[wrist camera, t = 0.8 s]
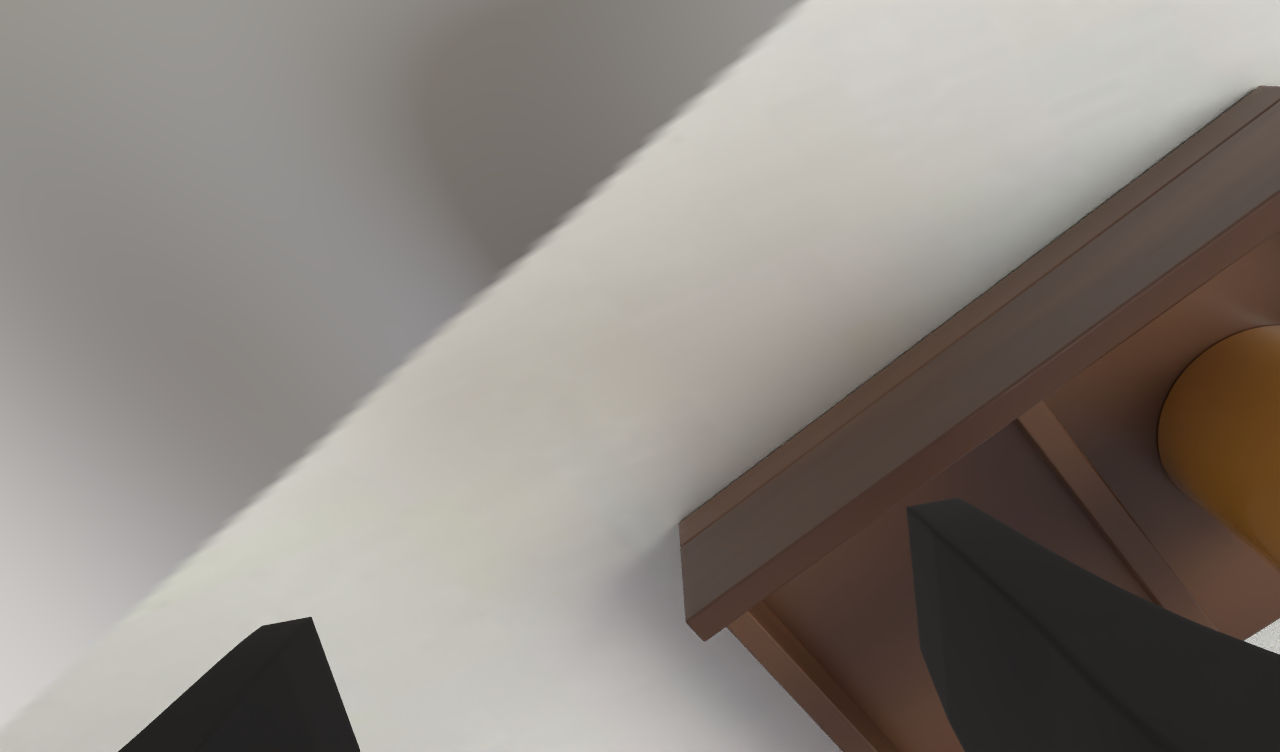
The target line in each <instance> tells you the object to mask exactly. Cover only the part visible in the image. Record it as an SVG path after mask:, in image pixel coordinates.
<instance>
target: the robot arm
mask: <svg viewBox="0 0 1280 752" xmlns="http://www.w3.org/2000/svg"><path fill="white" fill-rule="evenodd" d="M906 509H907V519H908V529H909V540H910V550H911V560H912V570H913V581H914V591H915V601H916V611H917V622H918V632H919V642H920V650H921V652H922V655H923V658H924V660H925V663H926V665H927V668H928V671H929V673H930V676H931V678H932V681H933V684H934V686H935V689H936V691H937V694H938V696H939V699H940V701H941V704H942V706H943V709H944V711H945V713H946V716H947V718H948V721H949V723H950V725H951V727H952V729H953V731H954V733H955V734H956V736H957V738H958V740H959V742H960V744H961V746H962V747H963V749H964V751H965V752H1280V654H1277V653H1274V652H1271V651H1268V650H1265V649H1263V648H1260V647H1257V646H1255V645H1252V644H1250V643H1247V642H1245V641H1242V640H1239V639H1237V638H1234V637H1232V636H1229V635H1227V634H1224V633H1221V632H1219V631H1216V630H1214V629H1211V628H1208V627H1206V626H1203V625H1201V624H1199V623H1196V622H1194V621H1192V620H1189V619H1187V618H1185V617H1182V616H1180V615H1178V614H1175V613H1173V612H1171V611H1169V610H1166V609H1164V608H1162V607H1160V606H1158V605H1156V604H1154V603H1152V602H1150V601H1147V600H1145V599H1143V598H1141V597H1139V596H1137V595H1135V594H1133V593H1131V592H1128V591H1126V590H1124V589H1122V588H1120V587H1118V586H1116V585H1114V584H1112V583H1110V582H1108V581H1106V580H1104V579H1102V578H1100V577H1099V576H1097V575H1095V574H1093V573H1091V572H1089V571H1087V570H1085V569H1083V568H1081V567H1080V566H1078V565H1076V564H1074V563H1072V562H1070V561H1069V560H1067V559H1065V558H1063V557H1061V556H1059V555H1058V554H1056V553H1054V552H1052V551H1051V550H1049V549H1047V548H1045V547H1043V546H1042V545H1040V544H1038V543H1036V542H1035V541H1033V540H1031V539H1030V538H1028V537H1026V536H1024V535H1023V534H1021V533H1019V532H1017V531H1016V530H1014V529H1012V528H1011V527H1009V526H1007V525H1006V524H1004V523H1002V522H1000V521H999V520H997V519H995V518H994V517H992V516H990V515H989V514H987V513H985V512H983V511H982V510H980V509H978V508H976V507H975V506H973V505H971V504H969V503H967V502H966V501H964V500H962V499H960V498H958V497H957V498H952V499H946V500H941V501H935V502H930V503H924V504H919V505H914V506H908V507H906ZM118 752H360V749H359V746H358V743H357V741H356V738H355V735H354V732H353V730H352V727H351V724H350V721H349V719H348V716H347V713H346V710H345V708H344V705H343V702H342V700H341V697H340V694H339V691H338V689H337V686H336V683H335V680H334V678H333V675H332V672H331V669H330V667H329V664H328V661H327V658H326V656H325V653H324V650H323V648H322V645H321V642H320V639H319V637H318V634H317V631H316V628H315V626H314V623H313V620H312V617H308V618H302V619H297V620H291V621H286V622H281V623H275V624H270V625H264V626H261V627H260V628H259V629H257V630H256V631H255V632H253V633H252V634H251V635H249V636H248V637H247V638H245V639H244V640H243V641H242V642H241V643H239V644H238V645H237V646H236V647H235V648H234V649H232V650H231V651H230V652H229V653H228V654H227V655H226V656H224V657H223V658H222V659H221V660H220V661H219V662H218V663H216V664H215V665H214V666H213V667H212V668H211V669H210V670H209V671H208V672H206V673H205V674H204V675H203V676H202V677H201V678H200V679H199V680H198V681H197V682H195V683H194V684H193V685H192V686H191V687H190V688H189V689H188V690H187V691H186V692H184V693H183V694H182V695H181V696H180V697H179V698H178V699H177V700H176V701H174V702H173V703H172V704H171V705H170V706H169V707H168V708H167V709H166V710H164V711H163V712H162V713H161V714H160V715H159V716H158V717H157V718H156V719H155V720H153V721H152V722H151V723H150V724H149V725H148V726H147V727H146V728H145V729H143V730H142V731H141V732H140V733H139V734H138V735H137V736H136V737H135V738H133V739H132V740H131V741H130V742H129V743H128V744H126V745H125V746H124V747H123V748H122V749H121V750H119V751H118Z"/></svg>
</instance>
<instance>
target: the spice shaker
mask: <svg viewBox="0 0 1280 752" xmlns="http://www.w3.org/2000/svg"><path fill="white" fill-rule="evenodd" d="M1158 449H1159V454H1160V458H1161V462H1162V465H1163V467H1164V469H1165V472H1166V474H1167V475H1168V477H1169V479H1170V480H1171V482H1172V483H1173V484H1174V485H1175V487H1176V488H1177V489H1178V490H1179V491H1180V492H1181V493H1182V494H1183V495H1185V496H1186V497H1187V498H1188V499H1189V500H1191V501H1192V502H1193V503H1194V504H1195V505H1197V506H1198V507H1199V508H1200V509H1202V510H1203V511H1204V512H1205V513H1206V514H1208V515H1209V516H1210V517H1211V518H1212V519H1214V520H1215V521H1216V522H1217V523H1219V524H1220V525H1221V526H1222V527H1223V528H1225V529H1226V530H1227V531H1228V532H1230V533H1231V534H1232V535H1233V536H1234V537H1236V538H1237V539H1238V540H1239V541H1240V542H1242V543H1243V544H1244V545H1245V546H1247V547H1248V548H1249V549H1250V550H1251V551H1253V552H1254V553H1255V554H1256V555H1257V556H1259V557H1260V558H1261V559H1262V560H1264V561H1265V562H1266V563H1267V564H1268V565H1270V566H1271V567H1272V568H1273V569H1274V570H1276V571H1277V572H1278V573H1279V574H1280V325H1274V326H1265V327H1259V328H1254V329H1250V330H1246V331H1243V332H1240V333H1237V334H1235V335H1232V336H1230V337H1228V338H1226V339H1224V340H1222V341H1220V342H1218V343H1217V344H1215V345H1213V346H1212V347H1210V348H1209V349H1207V350H1206V351H1205V352H1203V353H1202V354H1201V355H1199V356H1198V357H1197V358H1196V359H1195V360H1194V361H1193V362H1192V363H1191V364H1190V365H1189V366H1188V367H1187V368H1186V369H1185V370H1184V371H1183V373H1182V374H1181V375H1180V376H1179V378H1178V379H1177V380H1176V382H1175V384H1174V385H1173V387H1172V388H1171V390H1170V392H1169V394H1168V396H1167V398H1166V400H1165V402H1164V405H1163V408H1162V411H1161V415H1160V420H1159V425H1158Z"/></svg>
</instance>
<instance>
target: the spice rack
mask: <svg viewBox="0 0 1280 752" xmlns="http://www.w3.org/2000/svg"><path fill="white" fill-rule="evenodd" d="M1274 325H1280V87H1276V86H1259V87H1258V88H1256V89H1255V90H1254V91H1252V92H1251V93H1250V94H1248V95H1247V96H1246V97H1244V98H1243V99H1242V100H1241V101H1239V102H1238V103H1237V104H1235V105H1234V106H1233V107H1231V108H1230V109H1229V110H1227V111H1226V112H1225V113H1223V114H1222V115H1221V116H1219V117H1218V118H1217V119H1215V120H1214V121H1213V122H1211V123H1210V124H1209V125H1207V126H1206V127H1205V128H1203V129H1202V130H1201V131H1199V132H1198V133H1197V134H1195V135H1194V136H1193V137H1191V138H1190V139H1189V140H1187V141H1186V142H1185V143H1183V144H1182V145H1181V146H1179V147H1178V148H1177V149H1175V150H1174V151H1173V152H1171V153H1170V154H1169V155H1167V156H1166V157H1165V158H1163V159H1162V160H1161V161H1159V162H1158V163H1157V164H1155V165H1154V166H1153V167H1151V168H1150V169H1149V170H1147V171H1146V172H1145V173H1144V174H1142V175H1141V176H1140V177H1138V178H1137V179H1136V180H1134V181H1133V182H1132V183H1130V184H1129V185H1128V186H1126V187H1125V188H1124V189H1122V190H1121V191H1120V192H1118V193H1117V194H1116V195H1114V196H1113V197H1112V198H1110V199H1109V200H1108V201H1106V202H1105V203H1104V204H1102V205H1101V206H1100V207H1098V208H1097V209H1096V210H1094V211H1093V212H1092V213H1090V214H1089V215H1088V216H1086V217H1085V218H1084V219H1082V220H1081V221H1080V222H1078V223H1077V224H1076V225H1074V226H1073V227H1072V228H1070V229H1069V230H1068V231H1066V232H1065V233H1064V234H1062V235H1061V236H1060V237H1058V238H1057V239H1056V240H1054V241H1053V242H1052V243H1050V244H1049V245H1048V246H1047V247H1045V248H1044V249H1043V250H1041V251H1040V252H1039V253H1037V254H1036V255H1035V256H1033V257H1032V258H1031V259H1029V260H1028V261H1027V262H1025V263H1024V264H1023V265H1021V266H1020V267H1019V268H1017V269H1016V270H1015V271H1013V272H1012V273H1011V274H1009V275H1008V276H1007V277H1005V278H1004V279H1003V280H1001V281H1000V282H999V283H997V284H996V285H995V286H993V287H992V288H991V289H989V290H988V291H987V292H985V293H984V294H983V295H981V296H980V297H979V298H977V299H976V300H975V301H973V302H972V303H971V304H969V305H968V306H967V307H965V308H964V309H963V310H961V311H960V312H959V313H957V314H956V315H955V316H953V317H952V318H951V319H950V320H948V321H947V322H946V323H944V324H943V325H942V326H940V327H939V328H938V329H936V330H935V331H934V332H932V333H931V334H930V335H928V336H927V337H926V338H924V339H923V340H922V341H920V342H919V343H918V344H916V345H915V346H914V347H912V348H911V349H910V350H908V351H907V352H906V353H904V354H903V355H902V356H900V357H899V358H898V359H896V360H895V361H894V362H892V363H891V364H890V365H888V366H887V367H886V368H884V369H883V370H882V371H880V372H879V373H878V374H876V375H875V376H874V377H872V378H871V379H870V380H868V381H867V382H866V383H864V384H863V385H862V386H860V387H859V388H858V389H856V390H855V391H854V392H852V393H851V394H850V395H849V396H847V397H846V398H845V399H843V400H842V401H841V402H839V403H838V404H837V405H835V406H834V407H833V408H831V409H830V410H829V411H827V412H826V413H825V414H823V415H822V416H821V417H819V418H818V419H817V420H815V421H814V422H813V423H811V424H810V425H809V426H807V427H806V428H805V429H803V430H802V431H801V432H799V433H798V434H797V435H795V436H794V437H793V438H791V439H790V440H789V441H787V442H786V443H785V444H783V445H782V446H781V447H779V448H778V449H777V450H775V451H774V452H773V453H771V454H770V455H769V456H767V457H766V458H765V459H763V460H762V461H761V462H759V463H758V464H757V465H755V466H754V467H753V468H752V469H750V470H749V471H748V472H746V473H745V474H744V475H742V476H741V477H740V478H738V479H737V480H736V481H734V482H733V483H732V484H730V485H729V486H728V487H726V488H725V489H724V490H722V491H721V492H720V493H718V494H717V495H716V496H714V497H713V498H712V499H710V500H709V501H708V502H706V503H705V504H704V505H702V506H701V507H700V508H698V509H697V510H696V511H694V512H693V513H692V514H690V515H689V516H688V517H686V518H685V519H684V520H682V521H681V522H680V523H679V534H680V546H681V549H680V550H681V564H682V577H683V591H684V605H685V619H686V623H687V624H688V626H689V627H690V628H691V629H692V630H693V631H694V632H695V633H696V634H697V635H698V636H699V637H700V638H701V639H702V640H703V641H707V640H708V639H710V638H711V637H712V636H714V635H715V634H716V633H718V632H719V631H721V630H722V629H723V628H725V627H727V628H728V629H729V630H730V631H731V632H732V633H733V634H734V635H735V637H736V638H737V639H738V640H739V641H740V642H741V643H742V644H743V645H744V646H745V647H746V648H747V649H748V650H749V652H750V653H751V654H752V655H753V656H754V657H755V658H756V659H757V660H758V661H759V662H760V663H761V664H762V665H763V667H764V668H765V669H766V670H767V671H768V672H769V673H770V674H771V675H772V676H773V677H774V678H775V679H776V680H777V681H778V683H779V684H780V685H781V686H782V687H783V688H784V689H785V690H786V691H787V692H788V693H789V694H790V695H791V696H792V698H793V699H794V700H795V701H796V702H797V703H798V704H799V705H800V706H801V707H802V708H803V709H804V710H805V711H806V713H807V714H808V715H809V716H810V717H811V718H812V719H813V720H814V721H815V722H816V723H817V724H818V725H819V726H820V728H821V729H822V730H823V731H824V732H825V733H826V734H827V735H828V736H829V737H830V738H831V739H832V740H833V741H834V743H835V744H836V745H837V746H838V747H839V748H840V749H841V750H842V751H843V752H965V751H964V749H963V747H962V746H961V744H960V742H959V740H958V738H957V736H956V734H955V733H954V731H953V729H952V727H951V725H950V723H949V721H948V718H947V716H946V713H945V711H944V709H943V706H942V704H941V701H940V699H939V696H938V694H937V691H936V689H935V686H934V684H933V681H932V678H931V676H930V673H929V671H928V668H927V665H926V663H925V660H924V658H923V655H922V652H921V650H920V642H919V632H918V622H917V611H916V601H915V591H914V581H913V570H912V560H911V550H910V540H909V529H908V519H907V509H906V507H908V506H914V505H919V504H924V503H930V502H935V501H941V500H946V499H952V498H957V497H958V498H960V499H962V500H964V501H966V502H967V503H969V504H971V505H973V506H975V507H976V508H978V509H980V510H982V511H983V512H985V513H987V514H989V515H990V516H992V517H994V518H995V519H997V520H999V521H1000V522H1002V523H1004V524H1006V525H1007V526H1009V527H1011V528H1012V529H1014V530H1016V531H1017V532H1019V533H1021V534H1023V535H1024V536H1026V537H1028V538H1030V539H1031V540H1033V541H1035V542H1036V543H1038V544H1040V545H1042V546H1043V547H1045V548H1047V549H1049V550H1051V551H1052V552H1054V553H1056V554H1058V555H1059V556H1061V557H1063V558H1065V559H1067V560H1069V561H1070V562H1072V563H1074V564H1076V565H1078V566H1080V567H1081V568H1083V569H1085V570H1087V571H1089V572H1091V573H1093V574H1095V575H1097V576H1099V577H1100V578H1102V579H1104V580H1106V581H1108V582H1110V583H1112V584H1114V585H1116V586H1118V587H1120V588H1122V589H1124V590H1126V591H1128V592H1131V593H1133V594H1135V595H1137V596H1139V597H1141V598H1143V599H1145V600H1147V601H1150V602H1152V603H1154V604H1156V605H1158V606H1160V607H1162V608H1164V609H1166V610H1169V611H1171V612H1173V613H1175V614H1178V615H1180V616H1182V617H1185V618H1187V619H1189V620H1192V621H1194V622H1196V623H1199V624H1201V625H1203V626H1206V627H1208V628H1211V629H1214V630H1216V631H1219V632H1221V633H1224V634H1227V635H1229V636H1232V637H1234V638H1237V639H1239V640H1242V641H1244V640H1246V639H1247V638H1249V637H1251V636H1252V635H1254V634H1255V633H1257V632H1259V631H1260V630H1262V629H1263V628H1265V627H1267V626H1268V625H1270V624H1271V623H1273V622H1274V621H1276V620H1278V619H1279V618H1280V574H1279V573H1278V572H1277V571H1276V570H1274V569H1273V568H1272V567H1271V566H1270V565H1268V564H1267V563H1266V562H1265V561H1264V560H1262V559H1261V558H1260V557H1259V556H1257V555H1256V554H1255V553H1254V552H1253V551H1251V550H1250V549H1249V548H1248V547H1247V546H1245V545H1244V544H1243V543H1242V542H1240V541H1239V540H1238V539H1237V538H1236V537H1234V536H1233V535H1232V534H1231V533H1230V532H1228V531H1227V530H1226V529H1225V528H1223V527H1222V526H1221V525H1220V524H1219V523H1217V522H1216V521H1215V520H1214V519H1212V518H1211V517H1210V516H1209V515H1208V514H1206V513H1205V512H1204V511H1203V510H1202V509H1200V508H1199V507H1198V506H1197V505H1195V504H1194V503H1193V502H1192V501H1191V500H1189V499H1188V498H1187V497H1186V496H1185V495H1183V494H1182V493H1181V492H1180V491H1179V490H1178V489H1177V488H1176V487H1175V485H1174V484H1173V483H1172V482H1171V480H1170V479H1169V477H1168V475H1167V474H1166V472H1165V469H1164V467H1163V465H1162V462H1161V458H1160V454H1159V449H1158V425H1159V420H1160V415H1161V411H1162V408H1163V405H1164V402H1165V400H1166V398H1167V396H1168V394H1169V392H1170V390H1171V388H1172V387H1173V385H1174V384H1175V382H1176V380H1177V379H1178V378H1179V376H1180V375H1181V374H1182V373H1183V371H1184V370H1185V369H1186V368H1187V367H1188V366H1189V365H1190V364H1191V363H1192V362H1193V361H1194V360H1195V359H1196V358H1197V357H1198V356H1199V355H1201V354H1202V353H1203V352H1205V351H1206V350H1207V349H1209V348H1210V347H1212V346H1213V345H1215V344H1217V343H1218V342H1220V341H1222V340H1224V339H1226V338H1228V337H1230V336H1232V335H1235V334H1237V333H1240V332H1243V331H1246V330H1250V329H1254V328H1259V327H1265V326H1274Z"/></svg>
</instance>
